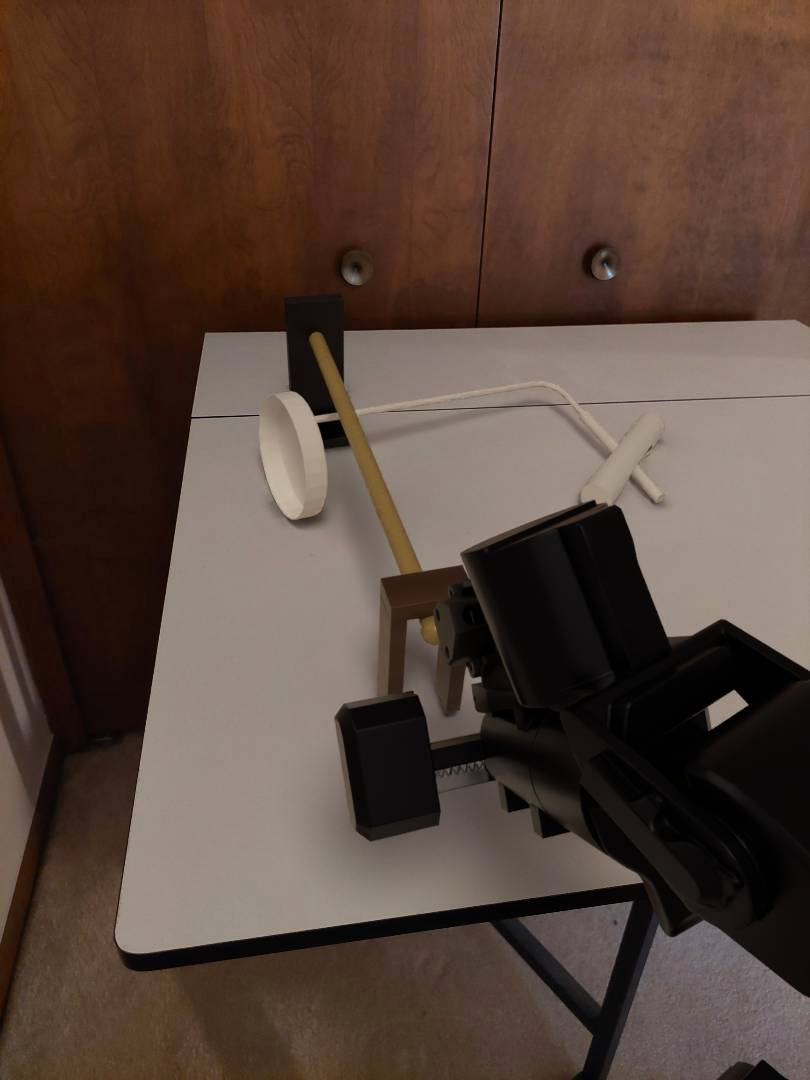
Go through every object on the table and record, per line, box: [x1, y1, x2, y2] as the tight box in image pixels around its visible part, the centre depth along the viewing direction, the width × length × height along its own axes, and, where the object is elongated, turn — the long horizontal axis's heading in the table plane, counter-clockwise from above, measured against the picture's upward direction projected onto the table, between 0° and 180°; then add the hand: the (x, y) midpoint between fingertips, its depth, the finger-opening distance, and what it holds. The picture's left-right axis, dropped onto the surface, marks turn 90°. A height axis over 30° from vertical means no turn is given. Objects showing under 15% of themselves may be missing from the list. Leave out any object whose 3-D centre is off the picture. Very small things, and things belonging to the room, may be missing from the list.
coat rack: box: [283, 292, 440, 646], centre depth 74 cm, size 48×8×16 cm, turn 16°
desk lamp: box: [258, 380, 667, 521], centre depth 85 cm, size 12×22×45 cm
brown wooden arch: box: [376, 564, 470, 714], centre depth 59 cm, size 3×6×13 cm, turn 106°
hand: (476, 710), depth 48 cm, fingers open, 9 cm apart
